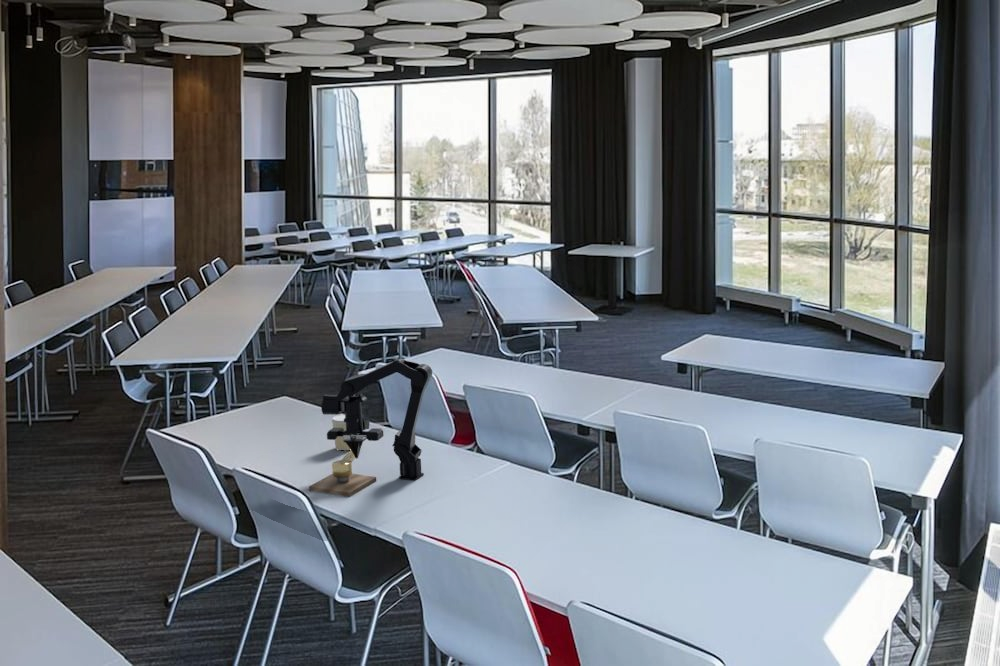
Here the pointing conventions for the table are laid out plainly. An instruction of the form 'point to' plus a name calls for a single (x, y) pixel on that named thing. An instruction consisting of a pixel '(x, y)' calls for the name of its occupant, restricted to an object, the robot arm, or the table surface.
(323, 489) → the base
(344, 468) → the beige elongated piece
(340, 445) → the coffee cup
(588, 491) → the table surface
